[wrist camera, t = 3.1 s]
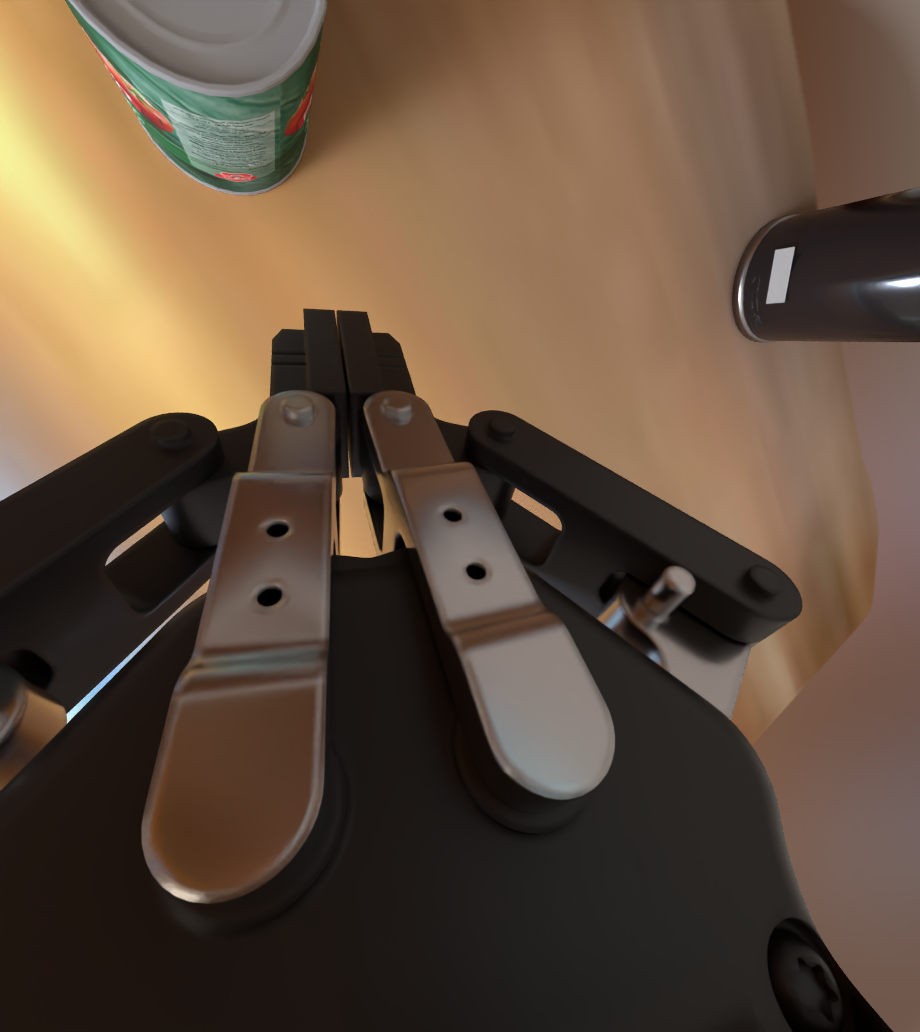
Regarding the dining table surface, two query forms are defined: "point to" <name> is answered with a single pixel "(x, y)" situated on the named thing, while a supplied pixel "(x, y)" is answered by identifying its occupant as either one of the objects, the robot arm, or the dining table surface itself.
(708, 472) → the dining table surface
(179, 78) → the canned tomato
